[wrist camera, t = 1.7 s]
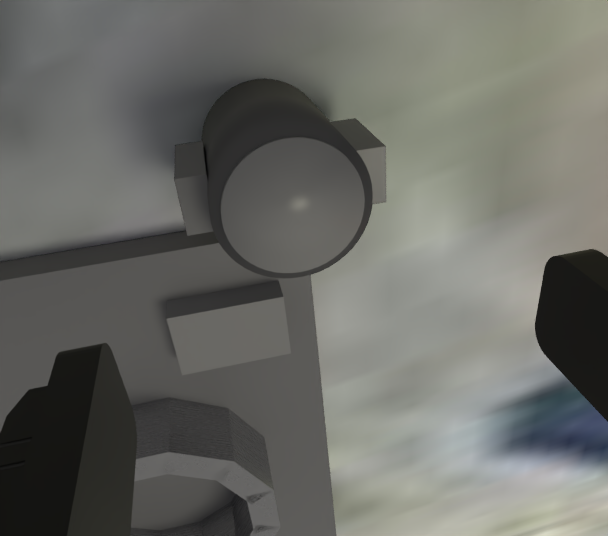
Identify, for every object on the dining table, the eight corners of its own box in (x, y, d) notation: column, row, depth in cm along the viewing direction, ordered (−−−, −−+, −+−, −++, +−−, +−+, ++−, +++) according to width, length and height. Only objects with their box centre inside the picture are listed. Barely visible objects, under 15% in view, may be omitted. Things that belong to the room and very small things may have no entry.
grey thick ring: (253, 379, 23) (263, 435, 21) (279, 516, 29) (289, 575, 26) (17, 428, 22) (-6, 494, 20) (89, 562, 27) (79, 629, 25)
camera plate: (298, 211, 21) (312, 242, 19) (329, 513, 32) (341, 556, 30) (-70, 274, 20) (-103, 315, 17) (90, 571, 30) (83, 621, 28)
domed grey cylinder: (341, 67, 19) (402, 110, 14) (347, 187, 21) (401, 262, 16) (166, 91, 18) (161, 145, 13) (193, 212, 21) (197, 299, 15)
